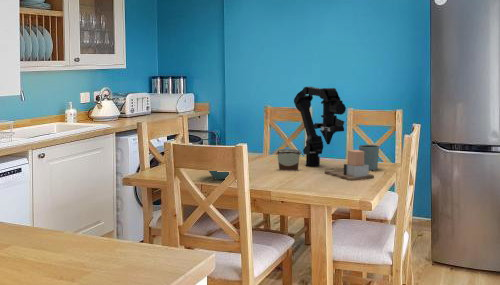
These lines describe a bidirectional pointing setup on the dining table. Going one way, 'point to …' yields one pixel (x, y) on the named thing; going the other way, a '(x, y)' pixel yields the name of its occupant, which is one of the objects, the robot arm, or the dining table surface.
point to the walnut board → (341, 175)
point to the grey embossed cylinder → (370, 155)
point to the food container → (288, 159)
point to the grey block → (356, 170)
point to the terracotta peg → (355, 157)
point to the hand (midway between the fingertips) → (328, 144)
